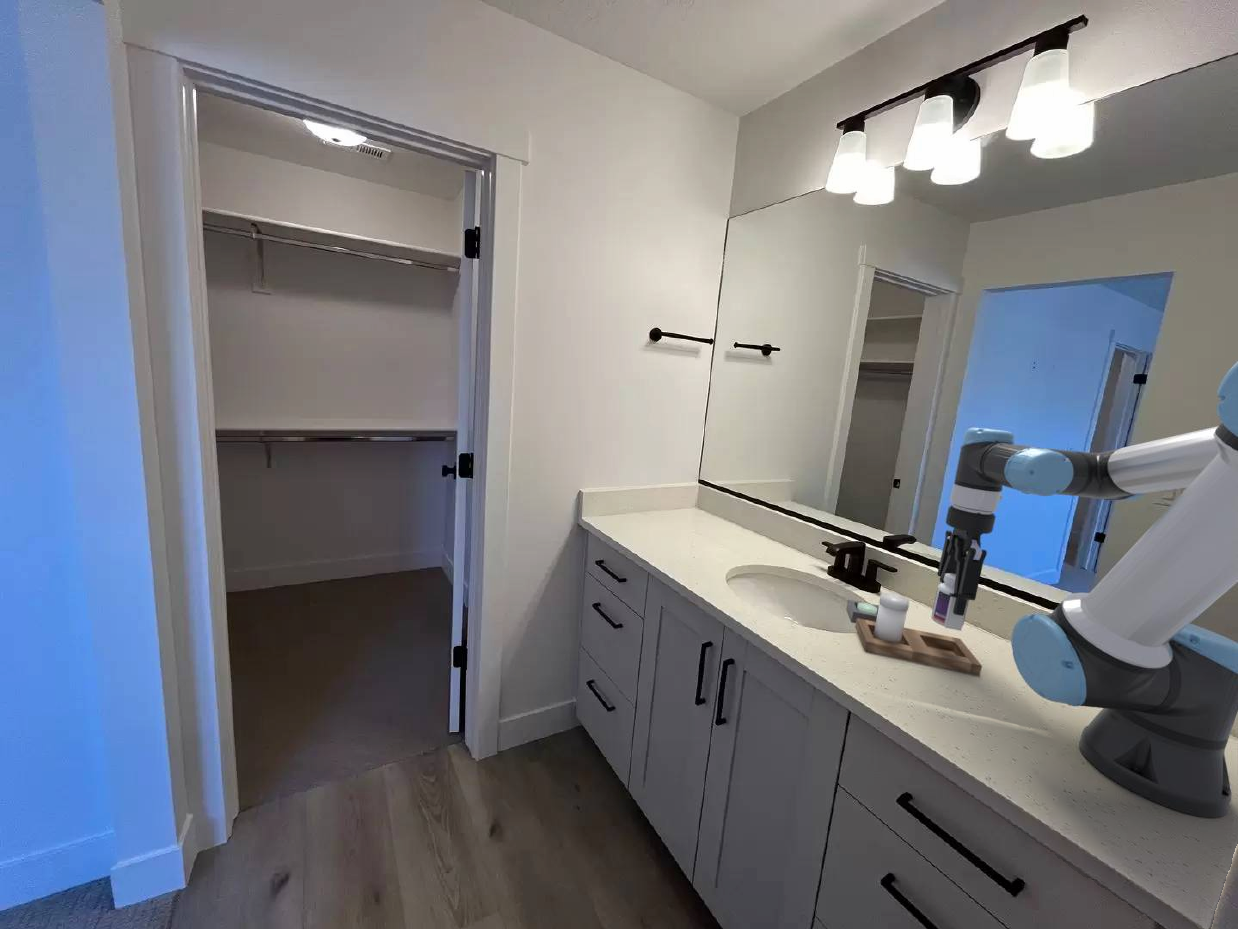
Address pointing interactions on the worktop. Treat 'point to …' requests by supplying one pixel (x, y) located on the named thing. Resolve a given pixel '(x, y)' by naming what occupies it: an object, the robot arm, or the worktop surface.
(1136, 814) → the worktop surface
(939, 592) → the pill bottle
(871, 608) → the button
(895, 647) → the walnut caddy
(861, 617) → the switch box
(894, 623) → the bottle
